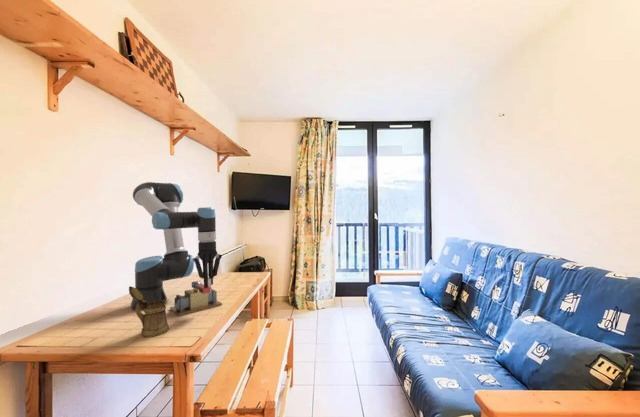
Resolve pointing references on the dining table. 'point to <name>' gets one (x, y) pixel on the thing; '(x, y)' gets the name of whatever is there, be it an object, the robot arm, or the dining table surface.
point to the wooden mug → (150, 314)
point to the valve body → (194, 302)
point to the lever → (201, 287)
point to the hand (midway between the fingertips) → (208, 292)
